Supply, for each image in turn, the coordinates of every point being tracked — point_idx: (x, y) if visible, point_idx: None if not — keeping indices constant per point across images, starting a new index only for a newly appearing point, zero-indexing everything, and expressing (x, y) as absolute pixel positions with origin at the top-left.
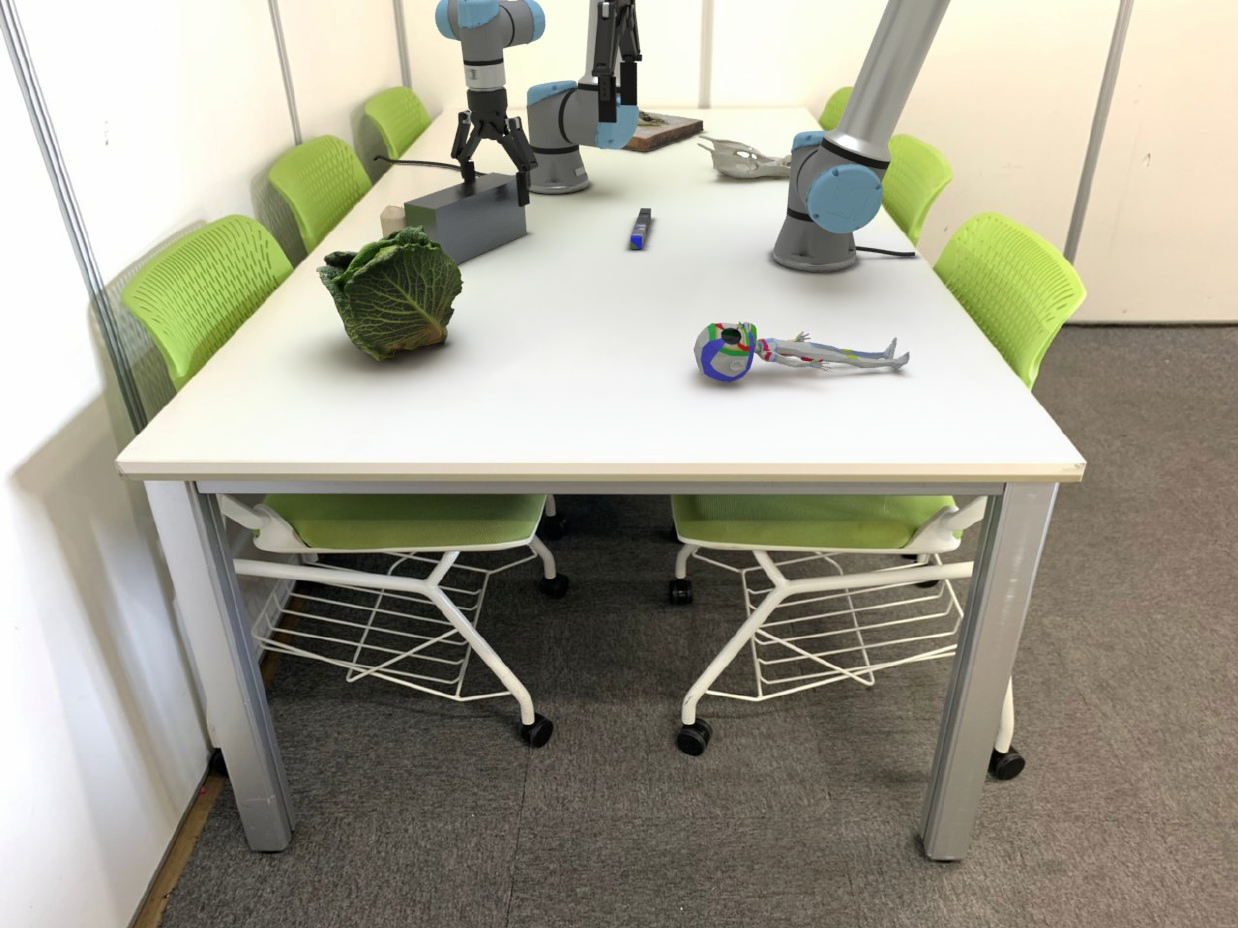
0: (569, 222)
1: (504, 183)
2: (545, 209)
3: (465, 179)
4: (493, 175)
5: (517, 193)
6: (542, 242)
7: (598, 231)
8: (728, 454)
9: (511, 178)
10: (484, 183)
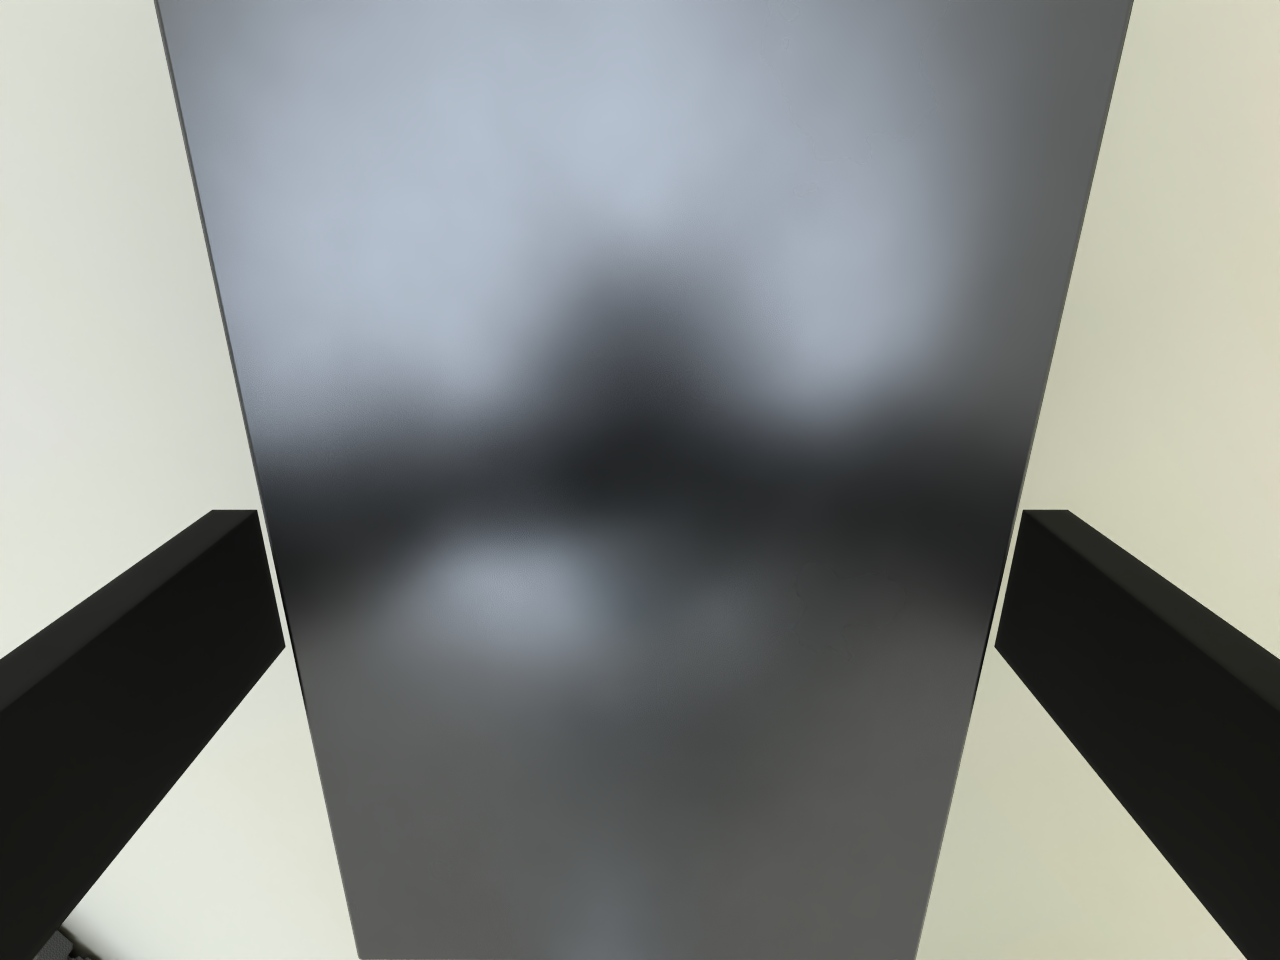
0: None
1: (301, 629)
2: None
3: (1200, 629)
4: (801, 867)
5: (164, 588)
6: None
7: (178, 797)
8: None
9: (441, 866)
10: (609, 462)
